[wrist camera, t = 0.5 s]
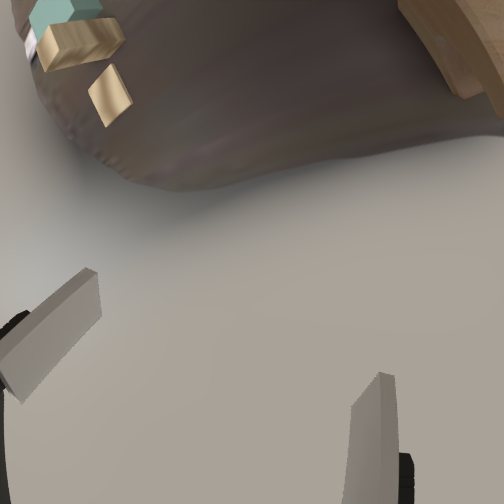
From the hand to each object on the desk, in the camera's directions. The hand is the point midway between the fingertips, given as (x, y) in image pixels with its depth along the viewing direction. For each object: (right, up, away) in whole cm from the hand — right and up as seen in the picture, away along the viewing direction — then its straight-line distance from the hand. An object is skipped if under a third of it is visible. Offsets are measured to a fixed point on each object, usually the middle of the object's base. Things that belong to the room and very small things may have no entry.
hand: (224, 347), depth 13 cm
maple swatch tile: (-22, +29, +28) cm, 46 cm away
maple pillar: (-20, +37, +22) cm, 47 cm away
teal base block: (-29, +46, +21) cm, 58 cm away
